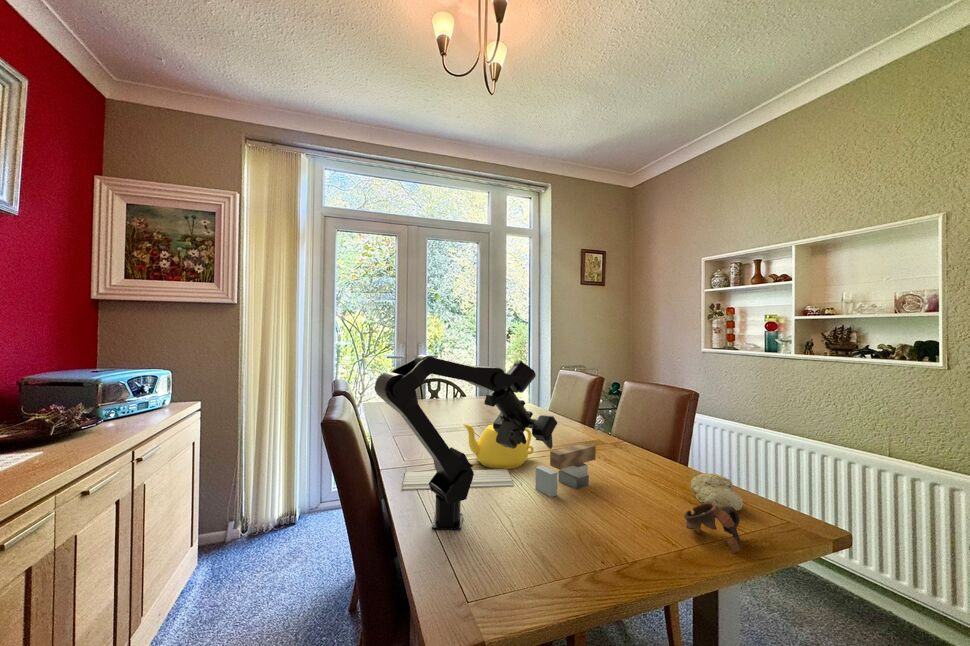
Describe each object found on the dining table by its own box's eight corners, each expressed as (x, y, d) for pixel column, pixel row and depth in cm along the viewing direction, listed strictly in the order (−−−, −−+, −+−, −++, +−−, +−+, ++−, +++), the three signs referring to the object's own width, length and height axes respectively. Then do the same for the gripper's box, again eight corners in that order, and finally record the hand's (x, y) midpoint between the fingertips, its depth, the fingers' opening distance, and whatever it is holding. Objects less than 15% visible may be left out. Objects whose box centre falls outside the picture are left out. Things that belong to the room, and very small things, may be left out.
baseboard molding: (514, 490, 103) (507, 474, 115) (514, 479, 103) (507, 464, 115) (401, 494, 99) (405, 477, 111) (401, 483, 99) (405, 467, 111)
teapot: (467, 474, 112) (467, 429, 113) (457, 455, 130) (457, 416, 130) (543, 468, 118) (543, 425, 119) (524, 450, 136) (524, 413, 136)
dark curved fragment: (729, 562, 71) (704, 518, 74) (692, 558, 79) (670, 519, 82) (763, 532, 76) (738, 492, 79) (725, 532, 84) (703, 495, 87)
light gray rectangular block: (550, 497, 97) (550, 474, 98) (535, 488, 102) (535, 467, 102) (557, 494, 99) (557, 472, 99) (541, 487, 104) (542, 465, 104)
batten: (559, 469, 101) (559, 454, 101) (550, 465, 104) (550, 451, 104) (595, 459, 109) (595, 446, 109) (586, 456, 112) (586, 442, 112)
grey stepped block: (576, 489, 102) (576, 467, 102) (558, 481, 108) (558, 460, 108) (588, 485, 105) (588, 464, 105) (570, 477, 111) (570, 457, 111)
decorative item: (676, 484, 97) (694, 461, 102) (688, 512, 98) (706, 489, 103) (723, 496, 87) (741, 470, 92) (737, 528, 87) (754, 501, 92)
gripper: (469, 426, 97) (499, 463, 103) (521, 434, 83) (552, 477, 89) (491, 395, 103) (518, 432, 109) (543, 398, 90) (571, 440, 95)
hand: (537, 445), depth 100 cm, fingers open, 9 cm apart
